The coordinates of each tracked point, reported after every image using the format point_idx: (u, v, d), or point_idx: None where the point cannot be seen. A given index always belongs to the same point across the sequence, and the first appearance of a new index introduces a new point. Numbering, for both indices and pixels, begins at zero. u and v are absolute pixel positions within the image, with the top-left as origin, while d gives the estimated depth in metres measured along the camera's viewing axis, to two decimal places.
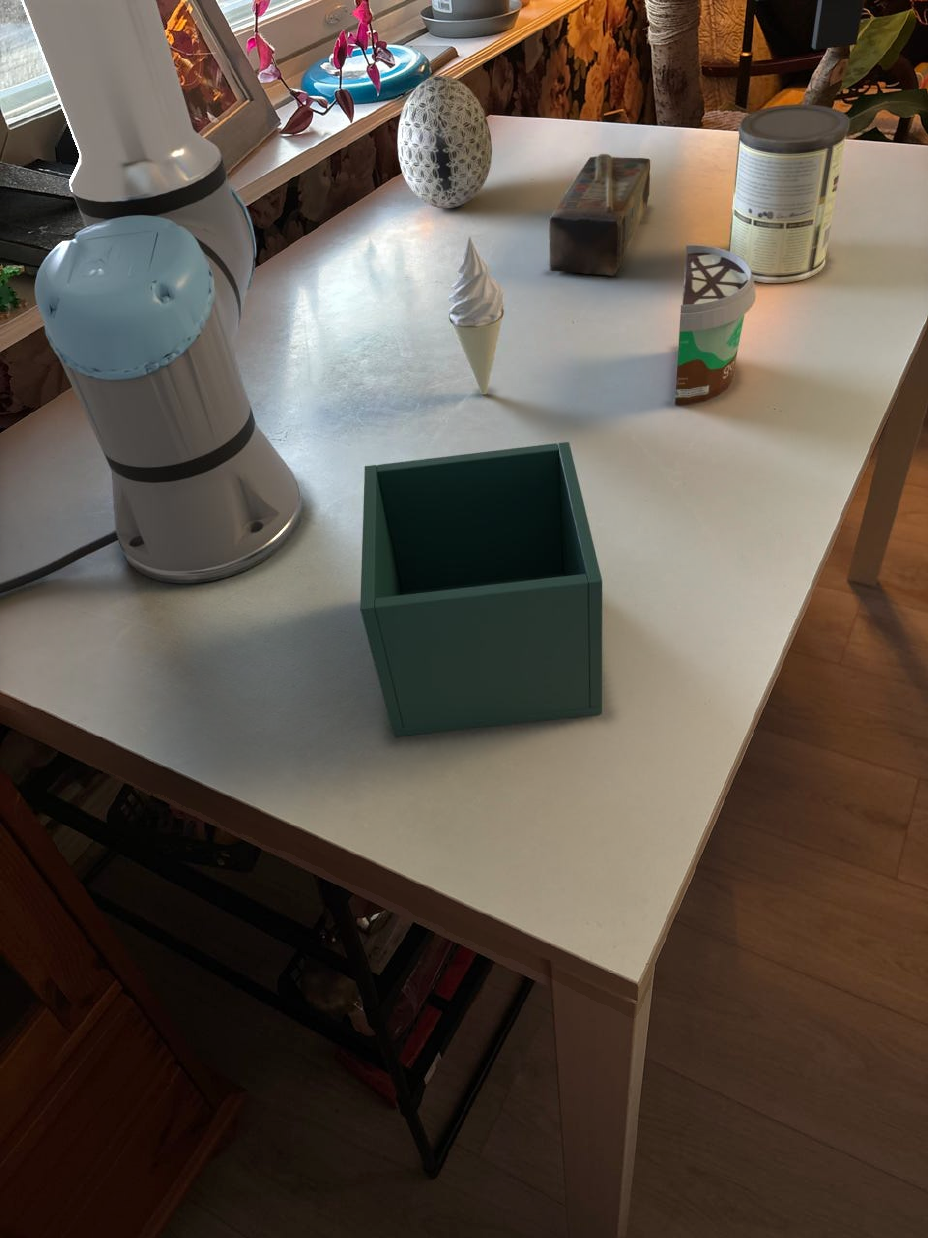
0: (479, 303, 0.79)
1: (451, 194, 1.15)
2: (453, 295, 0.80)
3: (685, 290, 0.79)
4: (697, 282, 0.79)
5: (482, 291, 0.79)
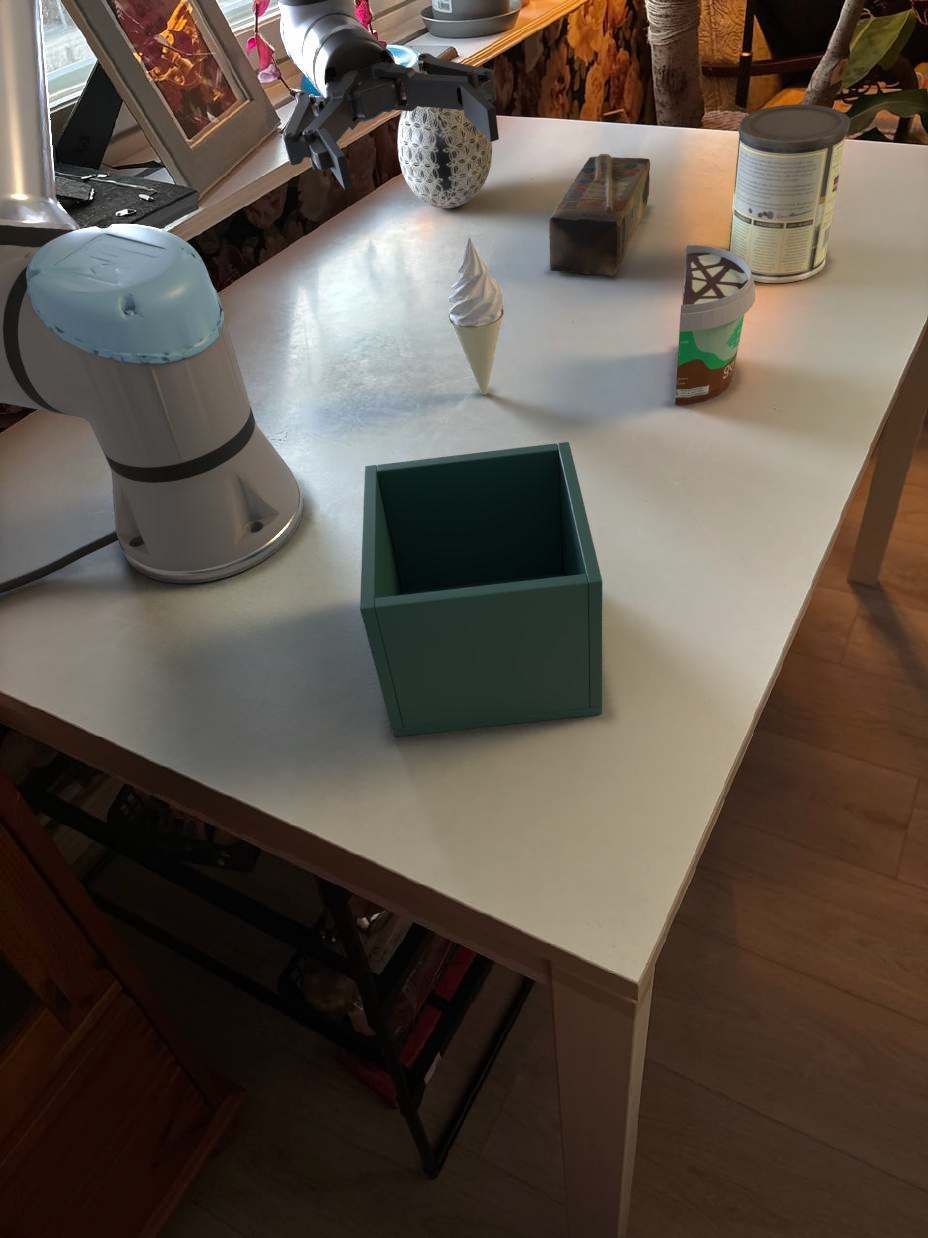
0: (479, 303, 0.79)
1: (451, 194, 1.15)
2: (453, 295, 0.80)
3: (685, 290, 0.79)
4: (697, 282, 0.79)
5: (482, 291, 0.79)
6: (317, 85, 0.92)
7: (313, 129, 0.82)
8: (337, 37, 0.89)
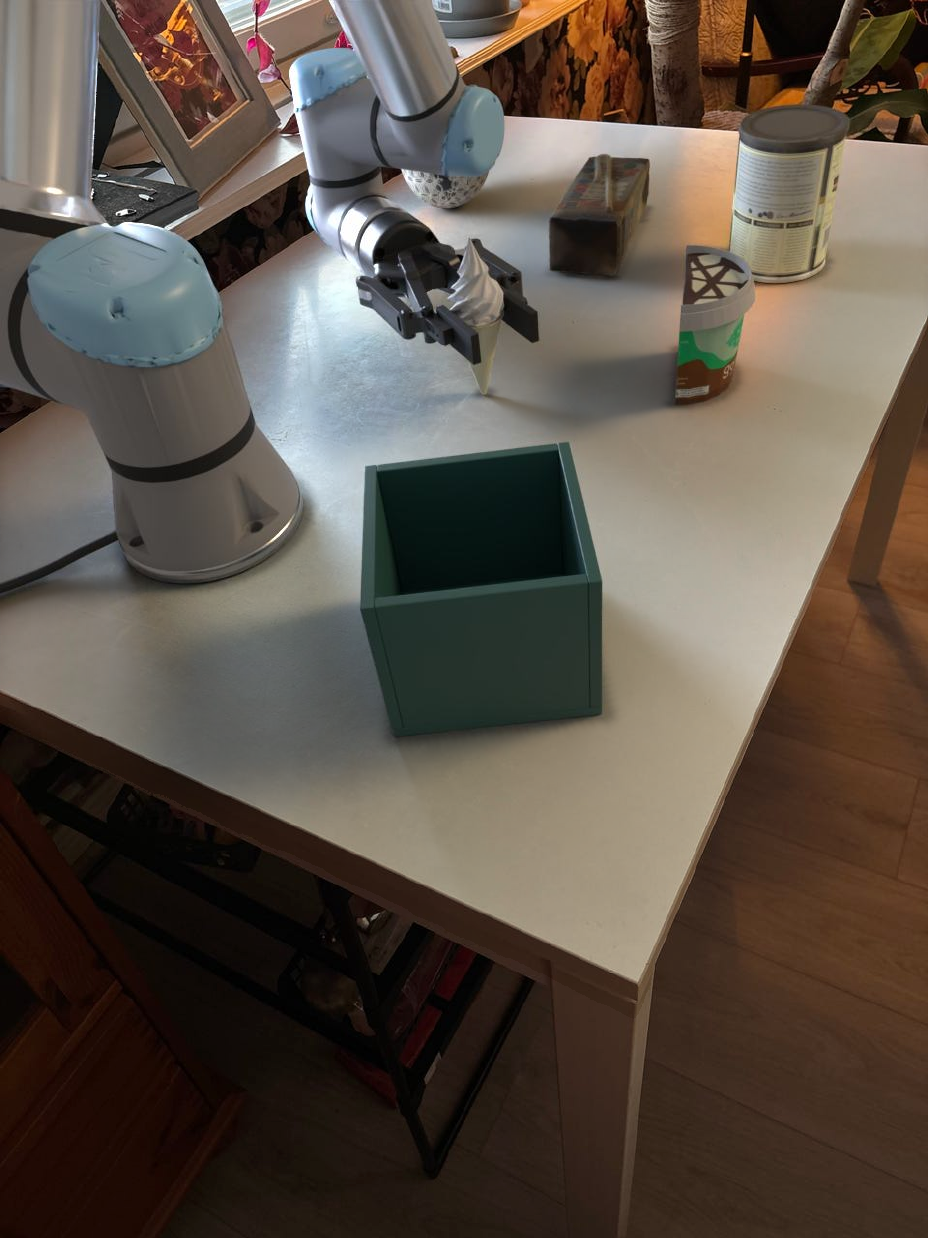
0: (479, 303, 0.79)
1: (451, 194, 1.15)
2: (453, 295, 0.80)
3: (685, 290, 0.79)
4: (697, 282, 0.79)
5: (482, 291, 0.79)
6: (360, 263, 0.93)
7: (429, 305, 0.82)
8: (384, 220, 0.90)
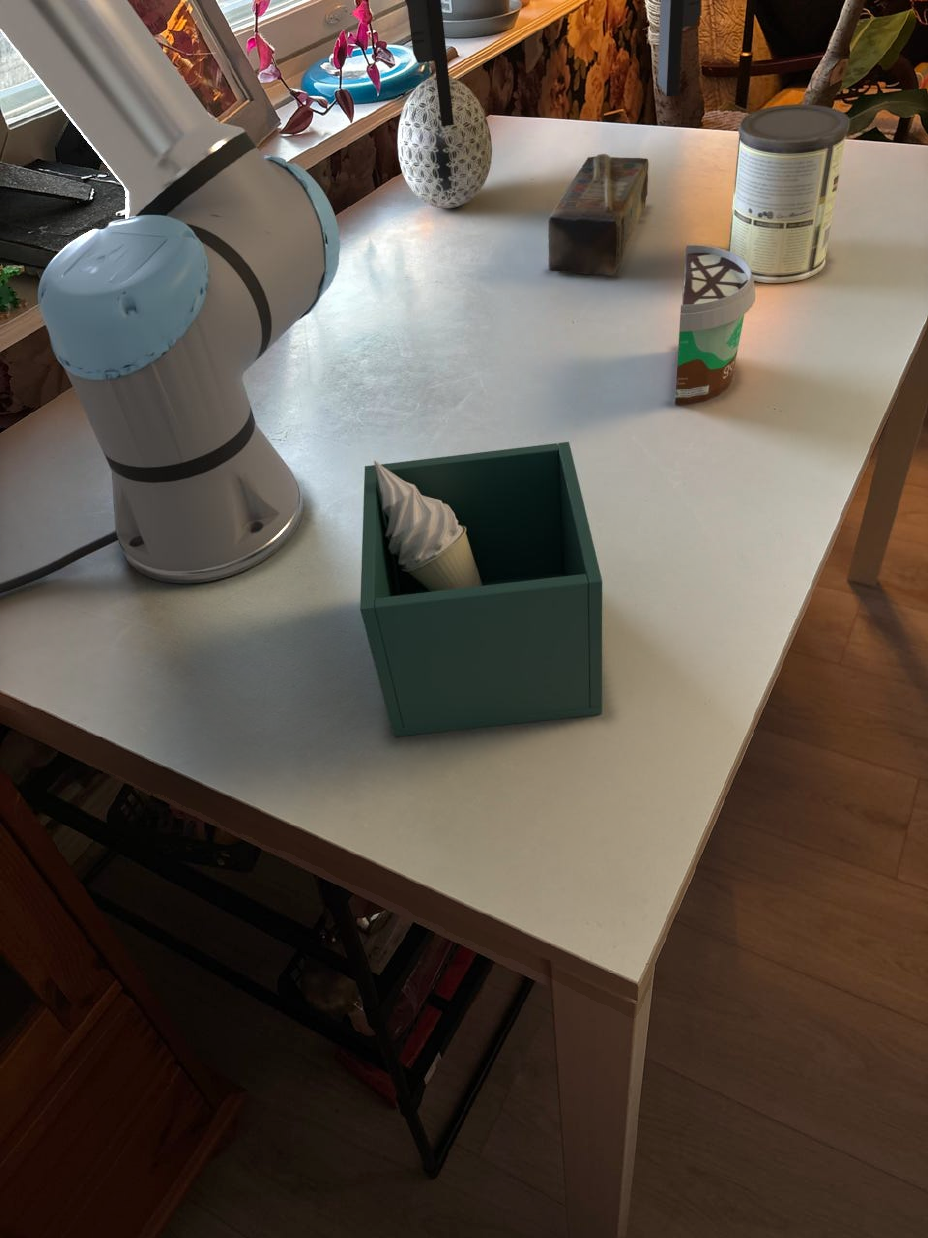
0: (390, 542, 0.60)
1: (451, 194, 1.15)
2: None
3: (685, 290, 0.79)
4: (697, 282, 0.79)
5: (395, 527, 0.59)
6: None
7: None
8: None
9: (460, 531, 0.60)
